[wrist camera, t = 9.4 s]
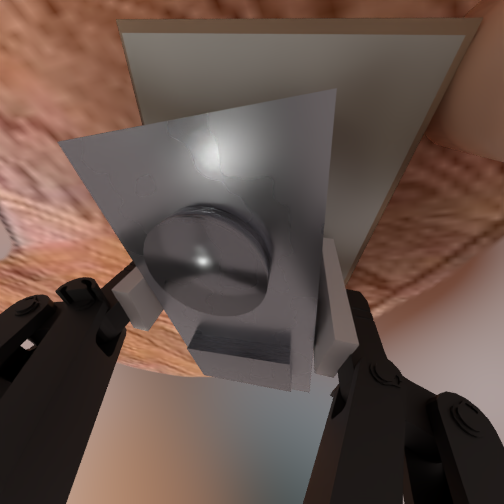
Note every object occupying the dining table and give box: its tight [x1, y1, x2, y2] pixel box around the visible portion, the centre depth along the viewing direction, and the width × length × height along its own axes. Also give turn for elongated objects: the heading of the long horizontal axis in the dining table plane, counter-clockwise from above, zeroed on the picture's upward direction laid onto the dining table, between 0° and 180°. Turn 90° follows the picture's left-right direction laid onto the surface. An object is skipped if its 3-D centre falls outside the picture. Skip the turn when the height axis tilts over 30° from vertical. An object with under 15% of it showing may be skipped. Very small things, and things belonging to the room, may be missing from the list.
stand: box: [116, 18, 483, 286], centre depth 14 cm, size 20×14×3 cm
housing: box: [58, 88, 337, 392], centre depth 10 cm, size 14×7×7 cm, turn 8°
